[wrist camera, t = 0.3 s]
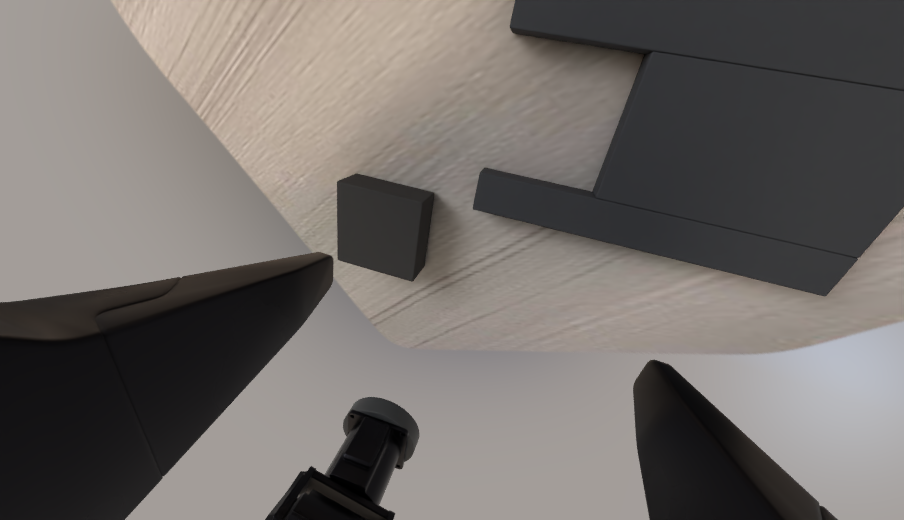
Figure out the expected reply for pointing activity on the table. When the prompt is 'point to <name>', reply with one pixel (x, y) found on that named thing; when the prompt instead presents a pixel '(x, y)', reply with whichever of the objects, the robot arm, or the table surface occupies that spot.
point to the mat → (735, 134)
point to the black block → (383, 225)
